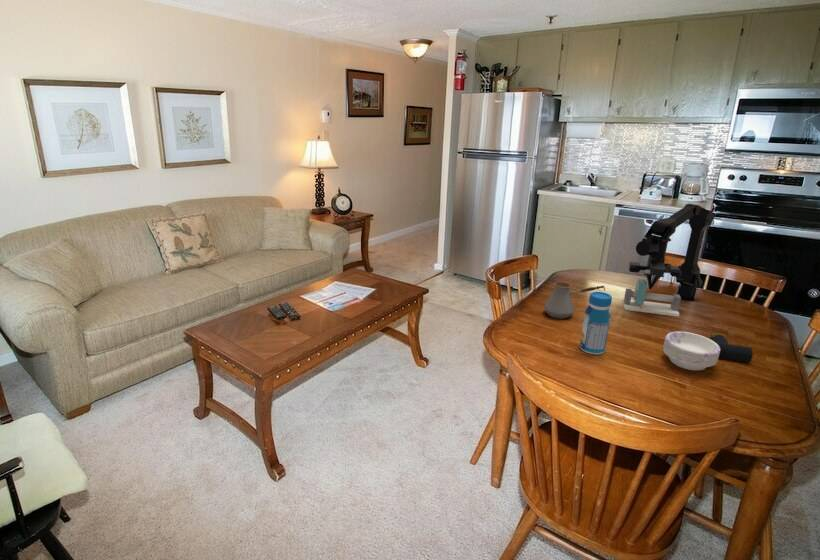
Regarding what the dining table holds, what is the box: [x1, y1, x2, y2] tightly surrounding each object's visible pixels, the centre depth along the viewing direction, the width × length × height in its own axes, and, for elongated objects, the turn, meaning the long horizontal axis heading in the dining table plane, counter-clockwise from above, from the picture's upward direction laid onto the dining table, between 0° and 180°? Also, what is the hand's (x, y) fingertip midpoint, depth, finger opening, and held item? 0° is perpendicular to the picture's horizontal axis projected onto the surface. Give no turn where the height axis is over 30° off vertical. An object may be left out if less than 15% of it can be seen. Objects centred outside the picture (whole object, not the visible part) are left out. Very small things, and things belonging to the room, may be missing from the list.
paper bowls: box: [662, 331, 720, 371], centre depth 145 cm, size 15×15×8 cm
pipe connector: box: [708, 332, 754, 363], centre depth 153 cm, size 12×5×15 cm
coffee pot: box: [544, 281, 606, 319], centre depth 177 cm, size 21×12×15 cm, turn 64°
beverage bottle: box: [579, 291, 613, 355], centre depth 151 cm, size 8×8×20 cm
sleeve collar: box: [633, 278, 648, 305], centre depth 188 cm, size 3×6×9 cm, turn 161°
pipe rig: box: [622, 288, 682, 318], centre depth 188 cm, size 20×10×7 cm, turn 71°
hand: (649, 289), depth 186 cm, fingers closed
